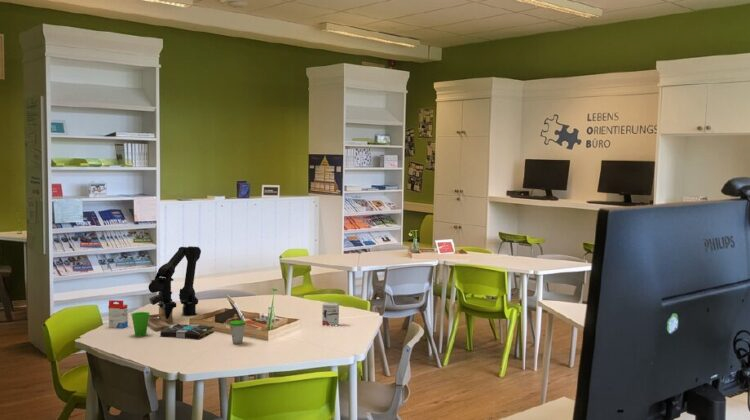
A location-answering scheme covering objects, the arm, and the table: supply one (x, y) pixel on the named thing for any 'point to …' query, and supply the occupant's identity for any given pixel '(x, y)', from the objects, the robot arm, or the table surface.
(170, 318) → the wooden mallet
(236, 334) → the cup
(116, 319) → the ink box
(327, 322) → the ink box
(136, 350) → the table surface
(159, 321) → the board
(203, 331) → the book
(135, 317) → the cup
